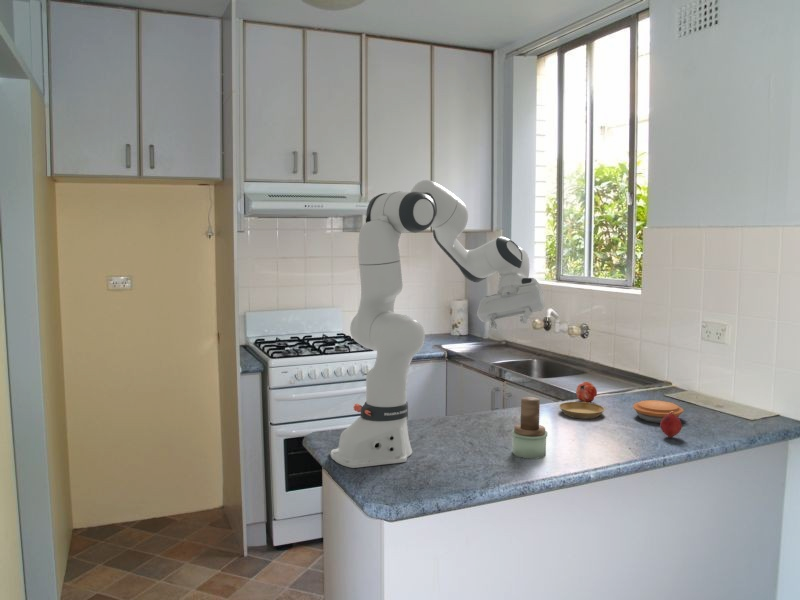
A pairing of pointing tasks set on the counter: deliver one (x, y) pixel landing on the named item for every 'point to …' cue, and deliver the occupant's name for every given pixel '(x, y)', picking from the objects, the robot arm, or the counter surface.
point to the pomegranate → (586, 392)
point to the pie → (656, 410)
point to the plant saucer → (581, 409)
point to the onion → (671, 425)
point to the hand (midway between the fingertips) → (507, 325)
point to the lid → (529, 418)
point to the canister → (529, 446)
